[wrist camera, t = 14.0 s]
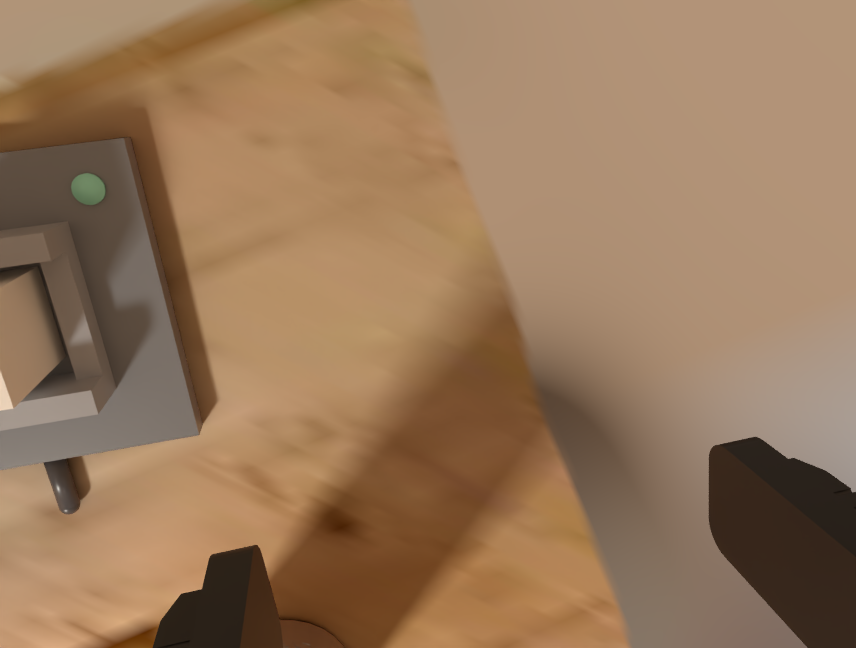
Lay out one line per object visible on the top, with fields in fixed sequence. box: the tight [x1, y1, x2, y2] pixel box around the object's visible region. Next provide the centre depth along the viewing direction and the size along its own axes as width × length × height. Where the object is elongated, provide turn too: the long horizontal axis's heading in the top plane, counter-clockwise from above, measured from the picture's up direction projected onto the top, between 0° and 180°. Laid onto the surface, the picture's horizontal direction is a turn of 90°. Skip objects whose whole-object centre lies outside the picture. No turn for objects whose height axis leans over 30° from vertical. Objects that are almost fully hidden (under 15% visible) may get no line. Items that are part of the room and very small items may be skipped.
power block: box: [0, 137, 203, 514], centre depth 31 cm, size 18×15×4 cm
